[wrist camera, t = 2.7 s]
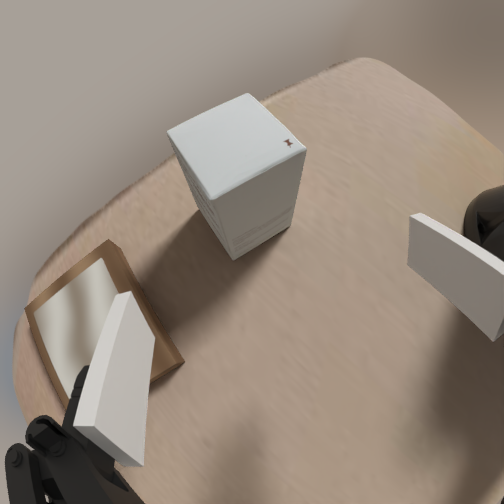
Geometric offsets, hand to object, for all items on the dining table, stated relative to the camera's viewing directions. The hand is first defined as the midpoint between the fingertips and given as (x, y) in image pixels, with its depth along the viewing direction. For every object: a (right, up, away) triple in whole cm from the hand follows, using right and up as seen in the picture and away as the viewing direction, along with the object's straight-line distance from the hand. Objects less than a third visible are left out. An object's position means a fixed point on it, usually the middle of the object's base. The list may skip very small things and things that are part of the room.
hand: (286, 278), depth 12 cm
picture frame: (-18, -8, +14) cm, 24 cm away
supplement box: (-2, +5, +18) cm, 19 cm away
